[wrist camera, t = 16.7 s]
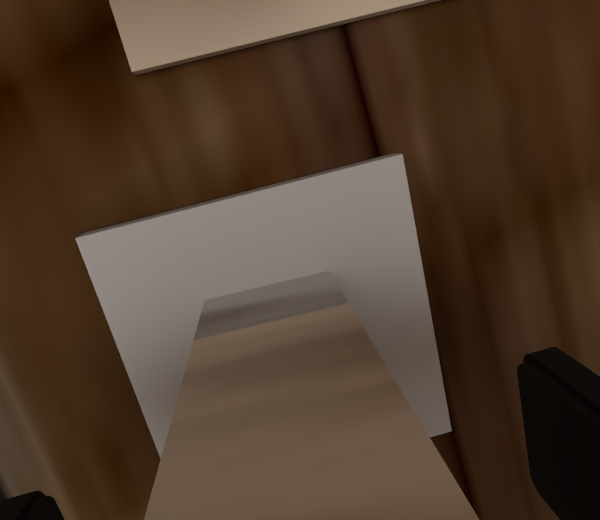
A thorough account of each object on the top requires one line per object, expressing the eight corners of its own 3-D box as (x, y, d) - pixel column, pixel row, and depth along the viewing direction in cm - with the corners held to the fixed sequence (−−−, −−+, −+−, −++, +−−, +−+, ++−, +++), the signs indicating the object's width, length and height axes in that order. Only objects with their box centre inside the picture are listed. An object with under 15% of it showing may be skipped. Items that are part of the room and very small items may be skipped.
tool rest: (442, 418, 17) (451, 431, 17) (182, 491, 17) (179, 508, 16) (394, 153, 15) (402, 153, 14) (84, 232, 14) (75, 238, 14)
